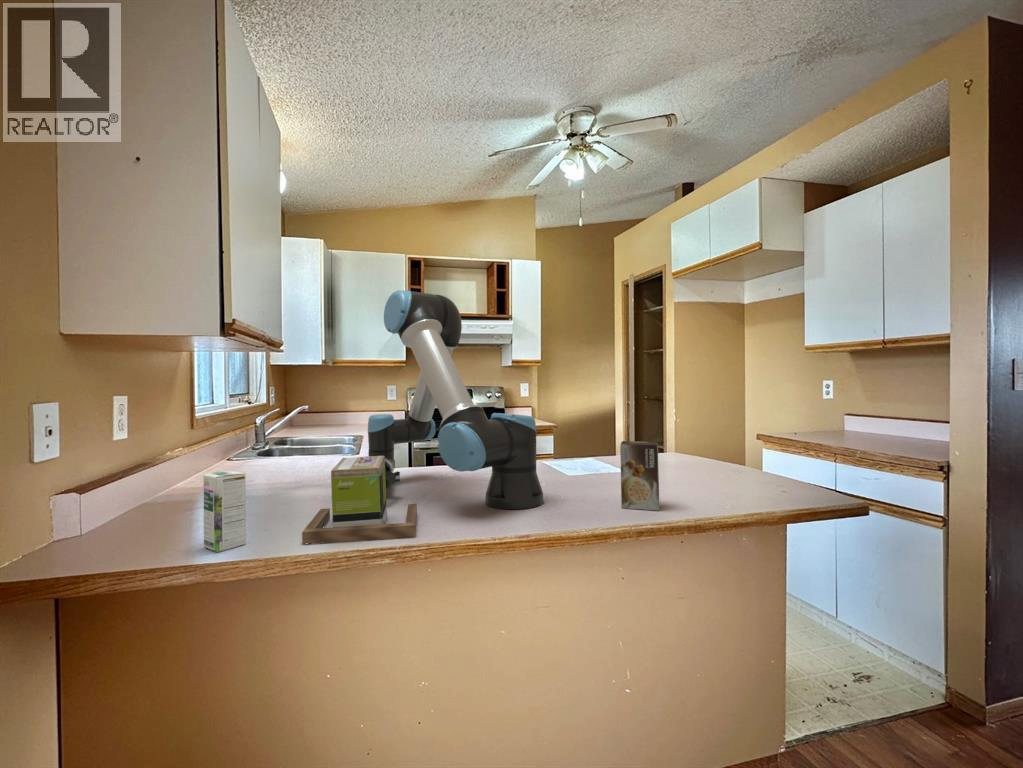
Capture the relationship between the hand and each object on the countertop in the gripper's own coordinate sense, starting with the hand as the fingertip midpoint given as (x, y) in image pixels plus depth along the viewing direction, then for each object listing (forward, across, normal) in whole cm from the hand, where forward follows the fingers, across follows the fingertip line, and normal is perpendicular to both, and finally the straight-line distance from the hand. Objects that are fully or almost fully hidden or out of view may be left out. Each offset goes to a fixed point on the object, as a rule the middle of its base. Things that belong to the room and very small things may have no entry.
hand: (369, 491), depth 117 cm
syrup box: (+15, +26, -6) cm, 31 cm away
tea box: (+8, +1, -6) cm, 11 cm away
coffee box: (+5, -66, -6) cm, 67 cm away
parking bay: (+8, 0, -6) cm, 10 cm away
